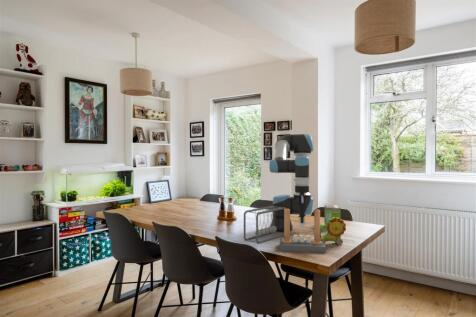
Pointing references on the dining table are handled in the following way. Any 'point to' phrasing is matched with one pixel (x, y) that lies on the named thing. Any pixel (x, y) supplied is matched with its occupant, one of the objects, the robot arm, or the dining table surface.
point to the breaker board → (302, 247)
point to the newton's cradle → (265, 230)
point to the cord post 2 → (317, 228)
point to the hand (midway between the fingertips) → (301, 228)
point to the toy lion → (333, 230)
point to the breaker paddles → (302, 239)
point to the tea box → (331, 212)
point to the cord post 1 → (287, 227)
